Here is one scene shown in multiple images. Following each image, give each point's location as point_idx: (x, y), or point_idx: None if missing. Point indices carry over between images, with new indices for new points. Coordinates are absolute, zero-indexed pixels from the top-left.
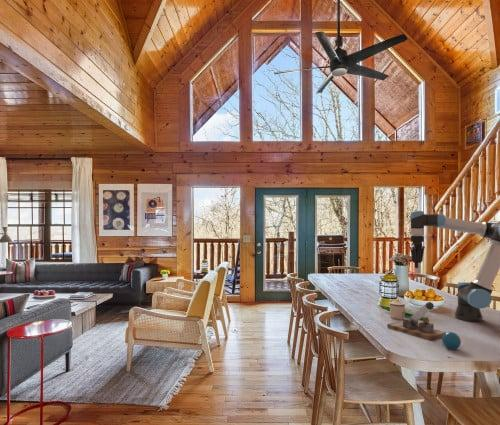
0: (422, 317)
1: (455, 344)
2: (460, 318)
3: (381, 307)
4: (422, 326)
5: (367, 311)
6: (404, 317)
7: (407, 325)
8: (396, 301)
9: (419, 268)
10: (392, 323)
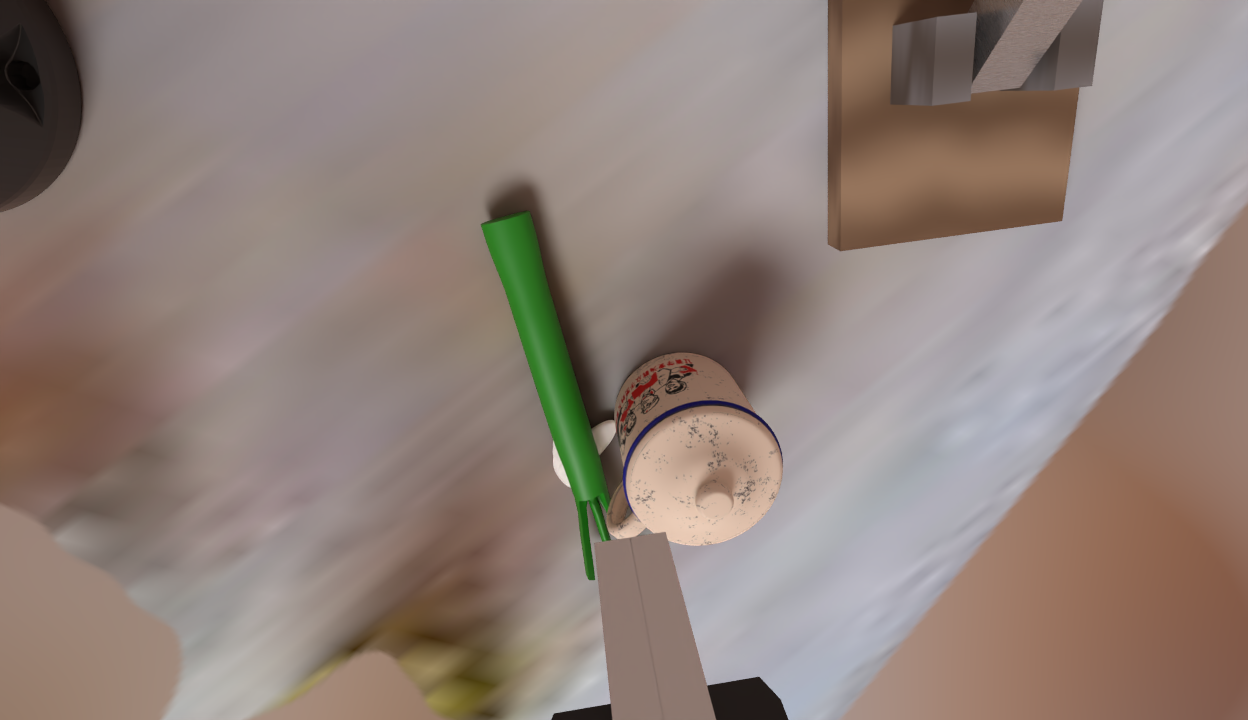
0: (535, 252)
1: None
2: (70, 74)
3: None
4: None
5: (748, 629)
6: (653, 360)
7: None
8: (741, 481)
9: (654, 647)
10: (1008, 213)
